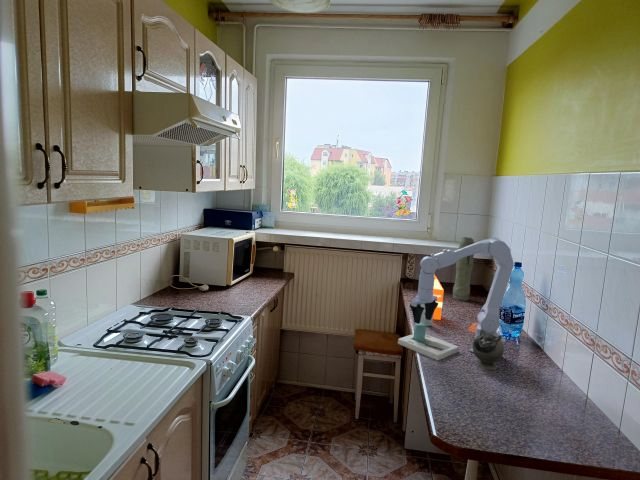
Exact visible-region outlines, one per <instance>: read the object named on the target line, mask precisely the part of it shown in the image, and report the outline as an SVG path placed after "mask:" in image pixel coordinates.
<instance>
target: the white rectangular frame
mask: <svg viewBox="0 0 640 480" xmlns="http://www.w3.org/2000/svg"><path fill="white" fill-rule="evenodd" d="M413 336H414V333H412V334H409V335H405V336H403V337H400V338H398V341H397V344H398V345H400V346H403V347H405V348H407V349H410V350H412V351H414V352H417V353H418V354H421V355H424V356H425V357H428V358H431V359H434V360H436V361H439V360H442V359H445V358H448V357H450V356H452V355H454V354H457V353H458V352H459V351H460V350H459V348H460V346H457V345H455V344H452V343H449V342H447V341H445V340H442V339H439V338H437V337H434V336H431V335H429V334H426V333H425V342H424V344H422V343H420V342H417V341H415V340H413ZM427 345H429V346H427ZM432 347H435V348H437V349H440V351H439V350H437V349H434V348H432Z"/></svg>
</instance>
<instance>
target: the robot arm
mask: <svg viewBox="0 0 640 480" xmlns="http://www.w3.org/2000/svg"><path fill="white" fill-rule="evenodd" d="M473 254H474V255H475V254H483V255H486V256H487V255H490V256H492V258H493V259H494V260H495V262H496V263H497V267H496V270H495V274H494V277H493V280H492V283H491V286H490V288H489V292H488V294H487V298H486V301H485V303H484V304H483V305H482V308H481V310H479V312H478V313H477V315H476V321H477V323H478V324H477V326H476V328H475V336H474V339H475V338H476V337H477V336H479V335H480V332H481V329H482V330H483V331H484V332H485V333H490V334H493V335H495V336H497V337H498V336H501V337H502V338H501V341H502V343H503V344H504V337H503V335H502V334H499V332H498V331H497V330H498V329H499V325H500V324H499V319H500V308H501V305H502V302H503V299H504V295H505V293H506V290H507V288H508V284H509V281H510V278H511V276H512V271H513V269H514V265H515V263H514V260H513V256H512V253H511V248H510V247H509V245H508V244H507V243H506V242H505V241H502V240H501V239H499V238H497V237H490V238H488V239H486V238H485V239H482V240H479V241H476V242H474V244H471V245H469V246H466V247H464V248H461V249H459V248H458V249H456V250H452V249H446V248H445V249H442V251H440V252H439V253H438V252H437V253H436V254H435V253H431V254H430V256H429V255H427V256H423V257H422V259H421V260H420V262H419V266H420V272H419V276H418V277H419V278H418V288H417V295H416V296H414V297H415V298H414V299H413V300H411V303H409V308H410V309H411V313H412V316H413V317H412V318H413V323H414V324H415V323H417V324H420V320H421V315H422V312H423V310H424V309H425V318H426V319H427V320H431V318H432V316H433V313H434V311H435V309H436V307H437V306H438V303H437V302H435V301H437V296H434V295H433V289H434V279H435V277H434V275H435V272H436V270H437V269H438V270H440V269H443V268H446V267H449V266H452V265H454V264H455V265H456V262H457V259H459V258H463V257H466V256H469V255H473ZM421 304H425V308H423V307H421V306H420V305H421ZM468 351H469V352H472V353H474V352H473V347H472V348H470V349H469V350H468Z"/></svg>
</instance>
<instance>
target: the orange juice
mask: <svg viewBox="0 0 640 480" xmlns="http://www.w3.org/2000/svg"><path fill="white" fill-rule="evenodd" d="M434 277H435V279H434V289H433V295H434V296H437V301H435V302H437V303H438V306H437V307H436V309H435V311H434V315H433V320H440V321H441V318H442V309H443V301H444V300H443V299H444V293H445V291H444V290H445V289H444V288H443V287H442V284H441V283H440V281H439V279H438V278H437V276H436V274H434Z"/></svg>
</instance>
